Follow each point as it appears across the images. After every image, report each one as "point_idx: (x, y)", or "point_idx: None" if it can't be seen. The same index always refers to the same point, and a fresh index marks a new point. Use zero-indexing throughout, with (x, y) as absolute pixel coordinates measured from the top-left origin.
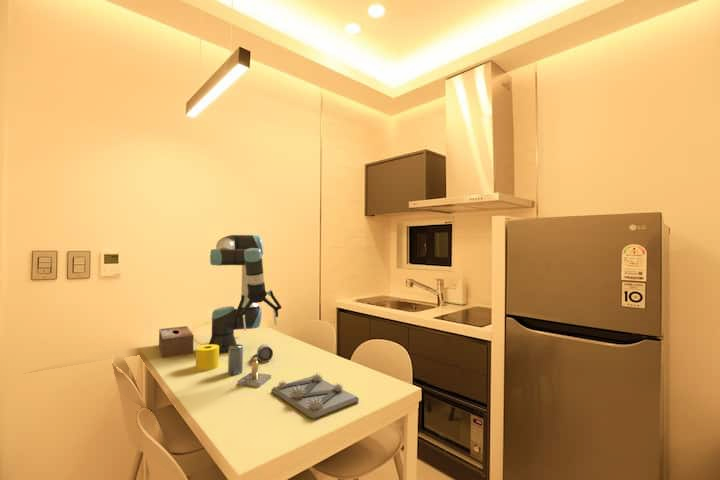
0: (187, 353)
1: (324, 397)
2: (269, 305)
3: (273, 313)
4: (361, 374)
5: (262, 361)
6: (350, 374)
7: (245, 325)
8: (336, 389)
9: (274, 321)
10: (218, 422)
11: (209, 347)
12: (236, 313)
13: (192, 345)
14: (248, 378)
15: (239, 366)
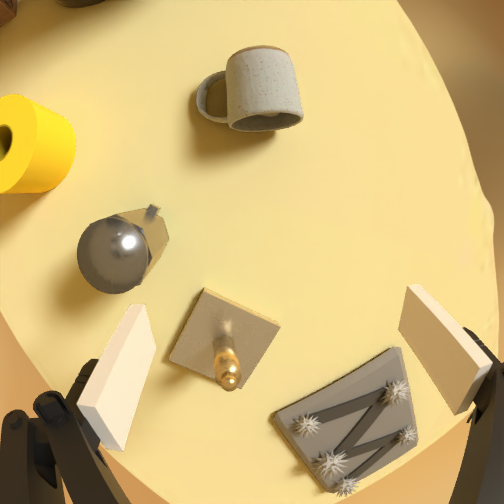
0: (1, 24)
1: (369, 461)
2: (456, 489)
3: (455, 341)
4: (479, 321)
5: (248, 131)
6: (465, 319)
7: (145, 378)
8: (401, 440)
9: (412, 324)
10: (175, 489)
11: (7, 126)
12: (38, 473)
13: (1, 6)
14: (202, 346)
15: (155, 263)
